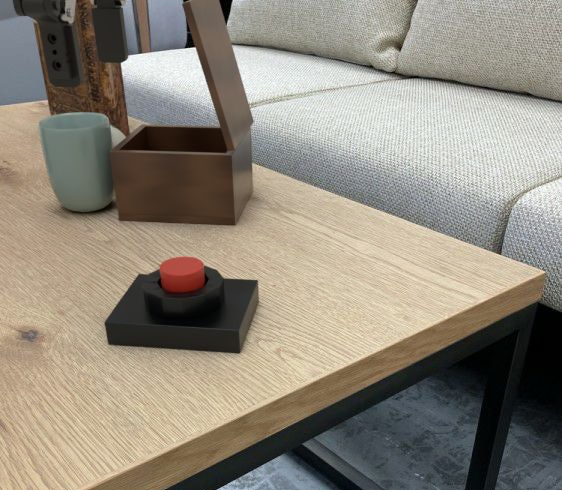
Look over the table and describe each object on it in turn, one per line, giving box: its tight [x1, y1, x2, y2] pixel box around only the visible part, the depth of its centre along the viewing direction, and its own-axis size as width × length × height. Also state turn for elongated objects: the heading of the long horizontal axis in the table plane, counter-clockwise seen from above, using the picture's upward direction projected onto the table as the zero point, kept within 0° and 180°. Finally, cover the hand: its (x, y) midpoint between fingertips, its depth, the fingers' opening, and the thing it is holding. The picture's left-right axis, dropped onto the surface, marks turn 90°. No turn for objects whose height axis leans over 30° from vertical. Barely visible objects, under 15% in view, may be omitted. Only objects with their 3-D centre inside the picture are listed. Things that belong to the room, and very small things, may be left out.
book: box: [32, 0, 131, 137], centre depth 105 cm, size 16×6×25 cm, turn 42°
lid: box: [181, 0, 255, 152], centre depth 75 cm, size 14×12×1 cm
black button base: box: [104, 265, 260, 354], centre depth 59 cm, size 11×9×4 cm
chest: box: [109, 123, 254, 226], centre depth 82 cm, size 14×12×8 cm
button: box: [159, 256, 205, 292], centre depth 58 cm, size 4×4×2 cm
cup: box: [37, 112, 115, 213], centre depth 81 cm, size 8×8×10 cm
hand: (92, 73), depth 50 cm, fingers open, 8 cm apart
